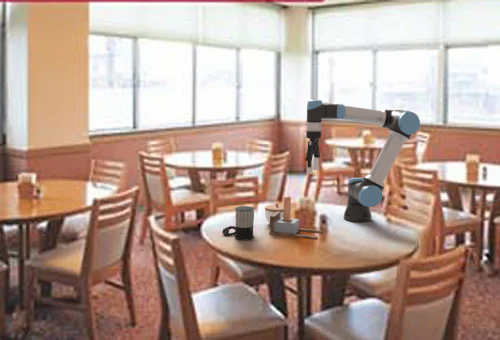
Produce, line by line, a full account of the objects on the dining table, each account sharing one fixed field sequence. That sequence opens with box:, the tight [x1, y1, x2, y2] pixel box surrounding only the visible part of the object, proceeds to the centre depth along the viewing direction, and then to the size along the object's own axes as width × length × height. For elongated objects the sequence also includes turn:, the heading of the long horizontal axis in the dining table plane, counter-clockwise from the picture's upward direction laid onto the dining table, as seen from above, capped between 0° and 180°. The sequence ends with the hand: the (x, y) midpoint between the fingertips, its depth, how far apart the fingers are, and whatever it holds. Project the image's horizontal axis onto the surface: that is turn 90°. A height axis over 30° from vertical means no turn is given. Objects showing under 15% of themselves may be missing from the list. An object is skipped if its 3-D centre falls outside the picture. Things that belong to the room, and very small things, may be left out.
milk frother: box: [222, 205, 255, 241], centre depth 293 cm, size 14×16×15 cm
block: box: [274, 218, 300, 234], centre depth 303 cm, size 10×10×6 cm
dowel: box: [283, 195, 292, 222], centre depth 302 cm, size 4×4×16 cm
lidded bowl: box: [264, 202, 284, 224], centre depth 320 cm, size 13×13×11 cm
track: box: [268, 212, 324, 240], centre depth 301 cm, size 24×13×9 cm, turn 71°
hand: (312, 171), depth 313 cm, fingers open, 13 cm apart
